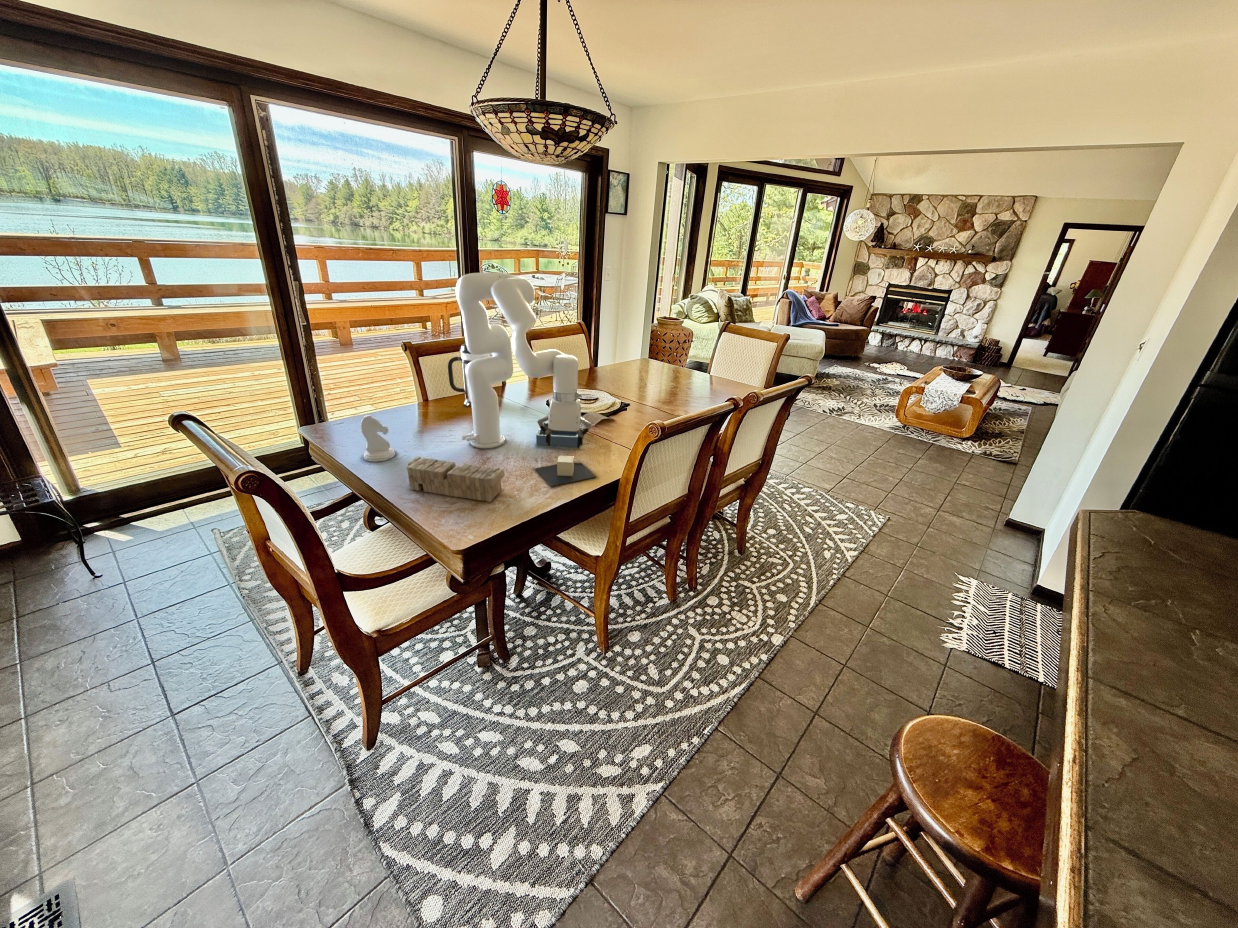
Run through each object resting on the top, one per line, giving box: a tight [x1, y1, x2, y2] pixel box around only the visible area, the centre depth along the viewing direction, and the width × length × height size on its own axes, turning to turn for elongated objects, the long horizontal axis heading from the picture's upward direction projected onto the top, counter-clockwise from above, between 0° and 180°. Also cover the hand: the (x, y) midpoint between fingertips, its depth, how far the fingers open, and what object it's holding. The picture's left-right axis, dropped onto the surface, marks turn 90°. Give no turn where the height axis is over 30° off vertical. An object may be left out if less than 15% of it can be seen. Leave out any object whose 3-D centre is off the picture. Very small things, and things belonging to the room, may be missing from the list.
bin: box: [535, 421, 582, 449], centre depth 184 cm, size 16×14×5 cm
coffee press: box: [447, 342, 492, 407], centre depth 215 cm, size 17×16×30 cm
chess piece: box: [360, 414, 396, 463], centre depth 163 cm, size 10×10×15 cm
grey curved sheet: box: [581, 412, 614, 427], centre depth 206 cm, size 14×10×3 cm
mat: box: [535, 462, 597, 488], centre depth 161 cm, size 16×14×1 cm
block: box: [556, 455, 575, 476], centre depth 160 cm, size 5×5×5 cm
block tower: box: [406, 456, 505, 503], centre depth 145 cm, size 8×8×29 cm
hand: (564, 445), depth 157 cm, fingers open, 9 cm apart
